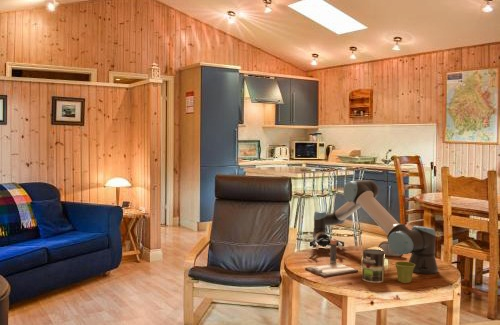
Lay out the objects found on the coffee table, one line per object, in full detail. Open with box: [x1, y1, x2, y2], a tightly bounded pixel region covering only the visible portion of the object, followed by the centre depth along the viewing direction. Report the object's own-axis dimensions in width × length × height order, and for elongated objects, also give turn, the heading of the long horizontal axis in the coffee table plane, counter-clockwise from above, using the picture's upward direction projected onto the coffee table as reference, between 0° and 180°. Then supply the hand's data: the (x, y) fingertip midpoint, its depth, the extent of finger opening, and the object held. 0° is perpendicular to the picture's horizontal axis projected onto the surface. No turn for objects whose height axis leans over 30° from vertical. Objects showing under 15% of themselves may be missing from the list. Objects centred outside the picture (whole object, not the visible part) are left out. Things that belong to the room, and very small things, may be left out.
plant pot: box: [394, 261, 415, 284], centre depth 239 cm, size 9×9×9 cm
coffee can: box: [361, 248, 385, 284], centre depth 241 cm, size 10×10×14 cm
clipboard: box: [304, 262, 359, 278], centre depth 256 cm, size 16×22×2 cm
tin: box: [378, 240, 404, 258], centre depth 290 cm, size 15×3×8 cm, turn 69°
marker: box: [329, 239, 338, 264], centre depth 271 cm, size 3×3×13 cm
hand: (329, 247), depth 280 cm, fingers open, 13 cm apart
